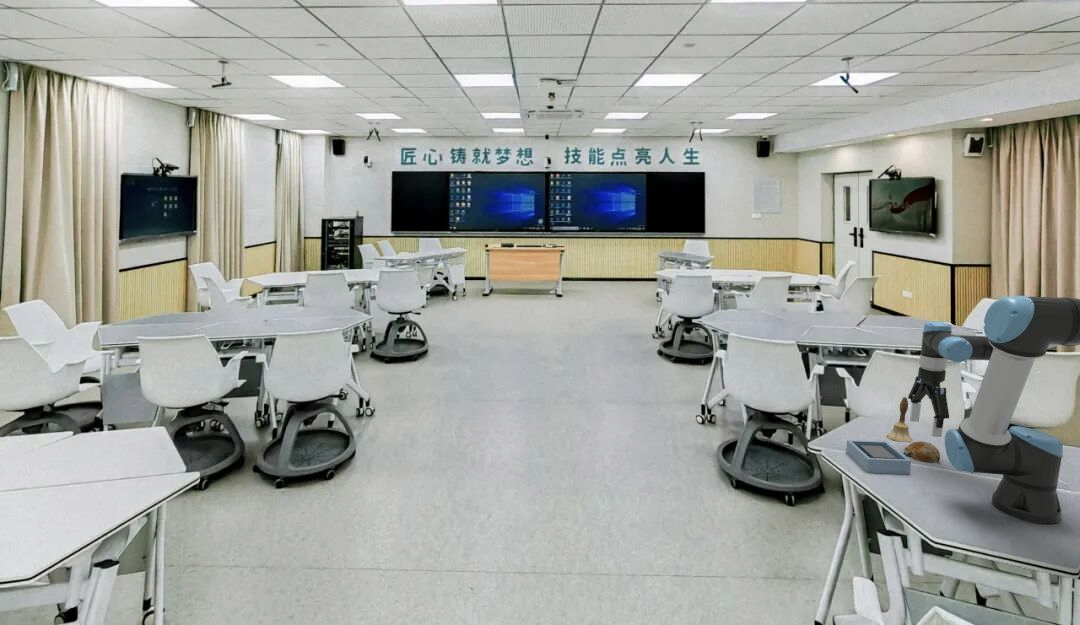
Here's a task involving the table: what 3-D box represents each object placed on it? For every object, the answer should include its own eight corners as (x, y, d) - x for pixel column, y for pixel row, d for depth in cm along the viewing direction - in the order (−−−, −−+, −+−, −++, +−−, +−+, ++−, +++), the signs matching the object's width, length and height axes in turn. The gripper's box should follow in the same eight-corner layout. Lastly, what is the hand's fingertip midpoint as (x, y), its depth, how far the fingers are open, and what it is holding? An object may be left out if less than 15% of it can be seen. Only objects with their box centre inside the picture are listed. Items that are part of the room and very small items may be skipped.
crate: (909, 477, 185) (911, 460, 184) (866, 475, 186) (868, 459, 185) (885, 456, 201) (886, 441, 200) (845, 455, 202) (847, 440, 201)
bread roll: (930, 477, 193) (945, 459, 190) (899, 457, 198) (913, 439, 195) (932, 466, 201) (947, 449, 198) (902, 448, 206) (916, 431, 203)
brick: (895, 469, 188) (896, 458, 187) (872, 468, 189) (873, 457, 188) (880, 457, 198) (881, 445, 197) (858, 456, 199) (859, 445, 198)
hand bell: (912, 437, 218) (917, 396, 216) (912, 444, 211) (917, 402, 209) (887, 432, 223) (891, 392, 220) (886, 439, 216) (890, 398, 213)
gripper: (967, 379, 181) (959, 443, 185) (923, 358, 205) (916, 415, 209) (942, 378, 181) (933, 442, 185) (901, 358, 206) (894, 415, 210)
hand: (924, 428), depth 197 cm, fingers open, 13 cm apart
